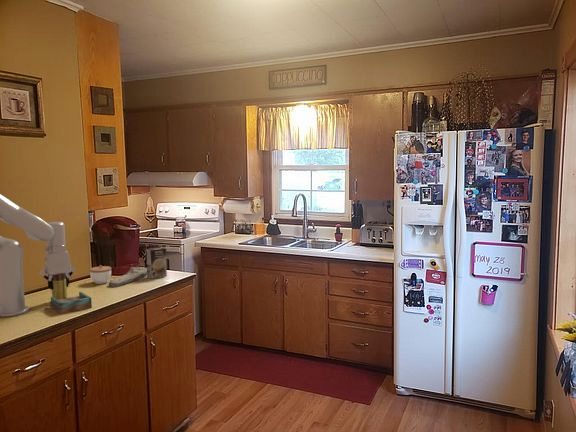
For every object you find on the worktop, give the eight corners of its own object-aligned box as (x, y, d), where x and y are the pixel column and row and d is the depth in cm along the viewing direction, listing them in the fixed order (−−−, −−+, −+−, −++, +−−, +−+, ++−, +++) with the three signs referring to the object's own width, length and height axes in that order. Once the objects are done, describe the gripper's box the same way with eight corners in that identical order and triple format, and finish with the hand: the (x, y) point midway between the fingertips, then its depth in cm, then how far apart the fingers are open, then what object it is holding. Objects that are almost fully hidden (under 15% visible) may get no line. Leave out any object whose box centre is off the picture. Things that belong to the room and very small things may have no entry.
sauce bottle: (62, 298, 219) (60, 256, 217) (70, 300, 216) (68, 258, 214) (49, 301, 213) (47, 259, 211) (57, 303, 210) (55, 260, 208)
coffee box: (151, 279, 256) (150, 250, 254) (146, 276, 261) (145, 248, 259) (167, 276, 262) (166, 248, 260) (162, 274, 267) (161, 246, 265)
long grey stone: (103, 289, 240) (120, 291, 238) (103, 279, 239) (120, 282, 237) (140, 271, 274) (155, 272, 272) (140, 262, 273) (155, 264, 271)
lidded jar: (88, 285, 242) (87, 267, 241) (92, 280, 253) (91, 263, 252) (110, 284, 244) (109, 267, 243) (113, 279, 255) (112, 262, 254)
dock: (60, 313, 196) (59, 303, 195) (50, 306, 206) (50, 296, 206) (91, 307, 205) (91, 297, 204) (81, 300, 215) (80, 291, 214)
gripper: (38, 252, 203) (40, 292, 205) (79, 247, 215) (81, 286, 217) (33, 250, 209) (36, 289, 211) (73, 245, 220) (75, 283, 222)
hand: (58, 287), depth 214 cm, fingers closed on sauce bottle, 6 cm apart
